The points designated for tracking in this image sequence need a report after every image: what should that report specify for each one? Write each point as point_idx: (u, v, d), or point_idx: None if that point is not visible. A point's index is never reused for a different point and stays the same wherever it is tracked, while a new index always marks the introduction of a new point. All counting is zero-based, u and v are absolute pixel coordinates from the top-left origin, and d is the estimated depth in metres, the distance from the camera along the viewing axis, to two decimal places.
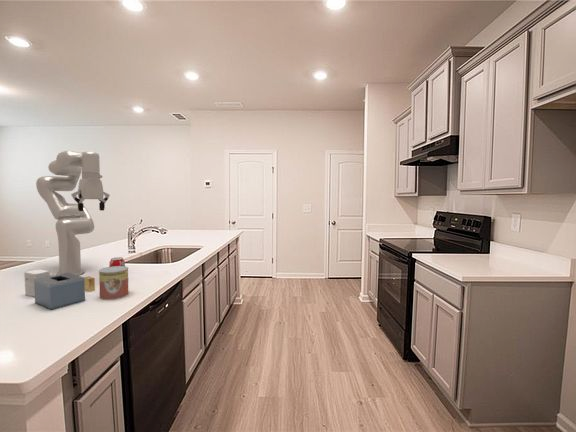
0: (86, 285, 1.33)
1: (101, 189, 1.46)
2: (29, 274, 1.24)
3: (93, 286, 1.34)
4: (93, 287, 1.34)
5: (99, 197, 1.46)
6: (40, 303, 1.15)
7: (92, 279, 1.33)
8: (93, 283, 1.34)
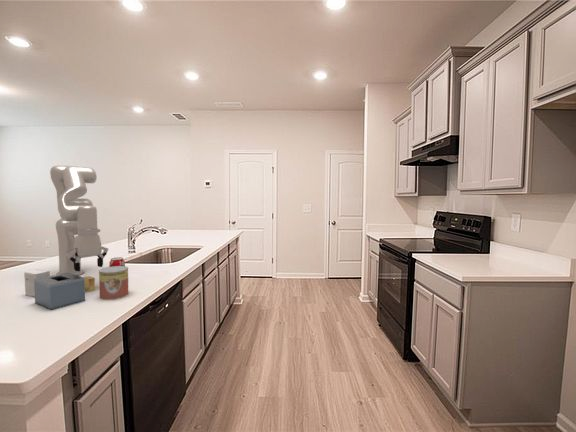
0: (86, 285, 1.33)
1: (99, 244, 1.35)
2: (29, 274, 1.24)
3: (93, 286, 1.34)
4: (93, 287, 1.34)
5: (97, 253, 1.35)
6: (40, 303, 1.15)
7: (92, 279, 1.33)
8: (93, 283, 1.34)
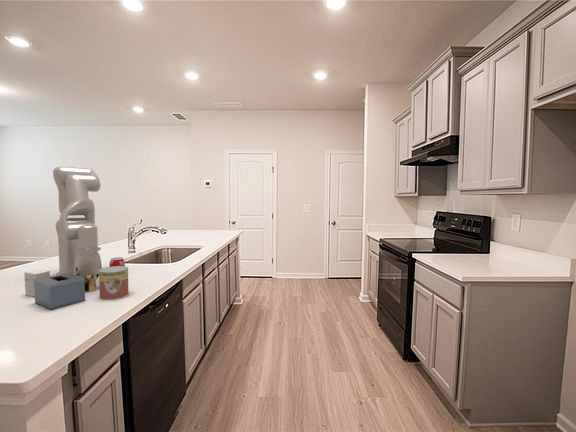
0: None
1: (99, 263, 1.36)
2: (29, 274, 1.24)
3: (93, 286, 1.34)
4: (93, 287, 1.34)
5: (97, 272, 1.35)
6: (40, 303, 1.15)
7: (92, 279, 1.33)
8: (93, 283, 1.34)
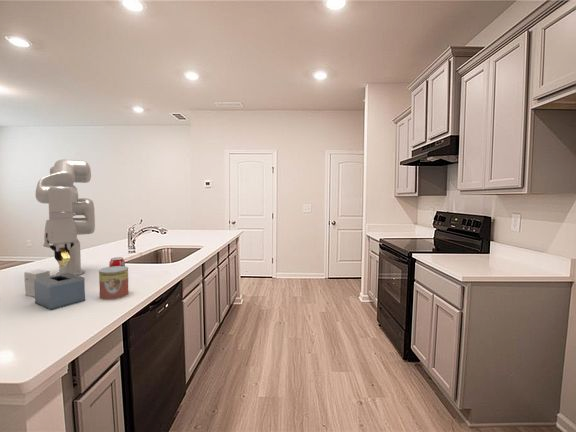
0: None
1: (74, 230, 1.21)
2: (29, 274, 1.24)
3: (66, 254, 1.19)
4: (67, 255, 1.19)
5: (71, 240, 1.21)
6: (40, 303, 1.15)
7: (62, 248, 1.20)
8: (65, 251, 1.19)
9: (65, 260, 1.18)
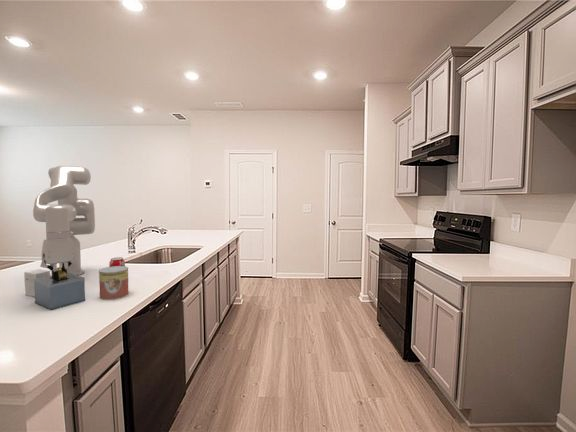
0: None
1: (71, 249, 1.20)
2: (29, 274, 1.24)
3: (63, 272, 1.18)
4: (63, 272, 1.18)
5: (69, 259, 1.20)
6: (40, 303, 1.15)
7: (58, 268, 1.20)
8: (61, 270, 1.19)
9: (62, 277, 1.17)
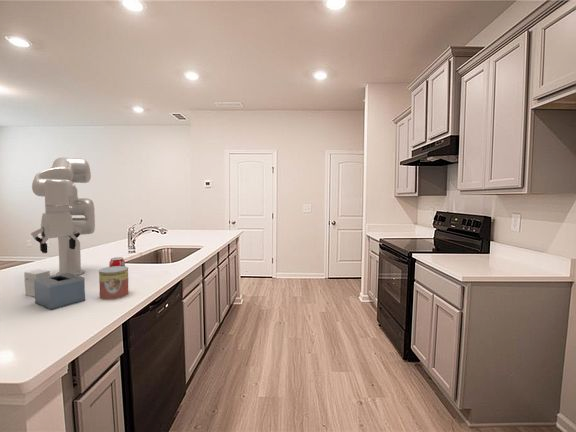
0: None
1: (71, 224, 1.20)
2: (29, 274, 1.24)
3: None
4: None
5: (68, 234, 1.19)
6: (40, 303, 1.15)
7: None
8: None
9: None
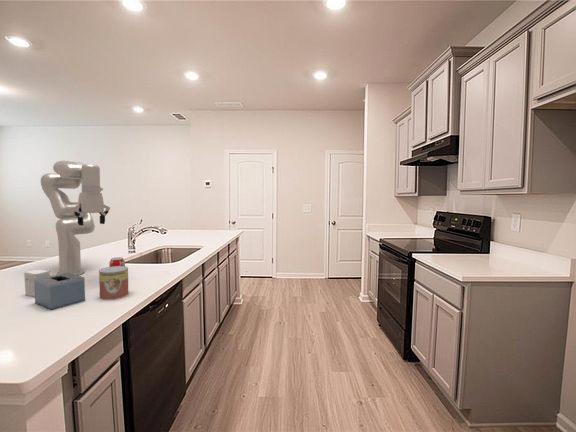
0: None
1: (101, 202, 1.43)
2: (29, 274, 1.24)
3: None
4: None
5: (99, 210, 1.42)
6: (40, 303, 1.15)
7: None
8: None
9: None
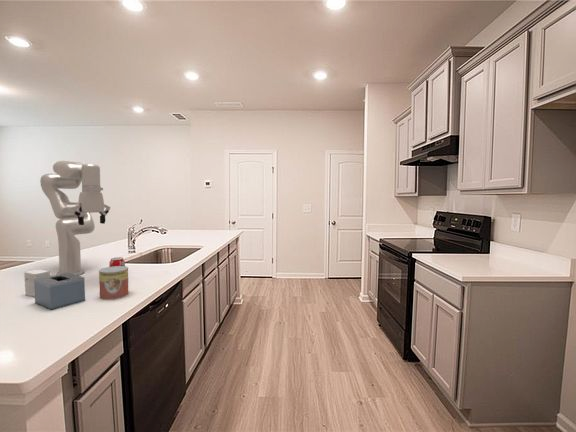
0: None
1: (102, 202, 1.43)
2: (29, 274, 1.24)
3: None
4: None
5: (100, 210, 1.43)
6: (40, 303, 1.15)
7: None
8: None
9: None
